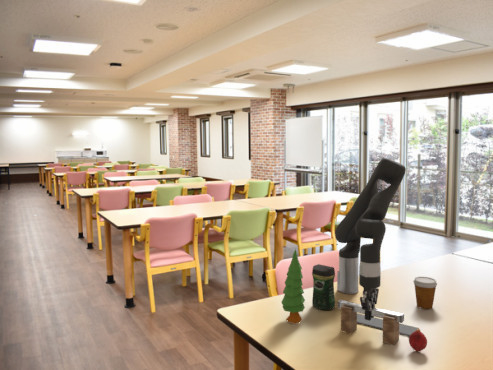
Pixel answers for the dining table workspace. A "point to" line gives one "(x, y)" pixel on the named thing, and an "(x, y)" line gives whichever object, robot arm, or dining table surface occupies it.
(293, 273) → the decorative tree
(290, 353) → the dining table surface
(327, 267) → the coffee jar
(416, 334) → the onion
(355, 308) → the rail
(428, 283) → the disposable coffee cup
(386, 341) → the post
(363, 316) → the mat
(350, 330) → the post
